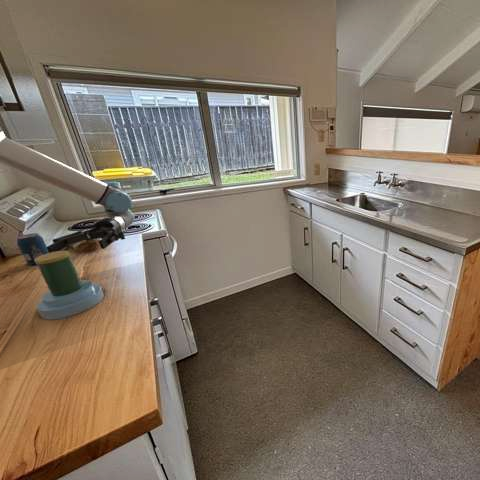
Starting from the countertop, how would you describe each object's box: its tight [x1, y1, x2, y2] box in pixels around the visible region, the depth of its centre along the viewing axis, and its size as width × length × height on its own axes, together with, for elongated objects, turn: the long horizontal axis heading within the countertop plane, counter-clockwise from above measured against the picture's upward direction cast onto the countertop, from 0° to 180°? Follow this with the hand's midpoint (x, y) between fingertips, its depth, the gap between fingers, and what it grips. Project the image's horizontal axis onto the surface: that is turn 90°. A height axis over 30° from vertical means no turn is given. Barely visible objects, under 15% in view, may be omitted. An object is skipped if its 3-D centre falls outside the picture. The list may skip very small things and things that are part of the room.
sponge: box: [66, 235, 101, 252], centre depth 118 cm, size 13×8×20 cm
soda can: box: [16, 232, 49, 266], centre depth 102 cm, size 7×7×12 cm
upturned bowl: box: [36, 279, 105, 321], centre depth 75 cm, size 14×14×5 cm
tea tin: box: [34, 250, 82, 296], centre depth 72 cm, size 7×7×11 cm
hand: (76, 247), depth 80 cm, fingers open, 13 cm apart
